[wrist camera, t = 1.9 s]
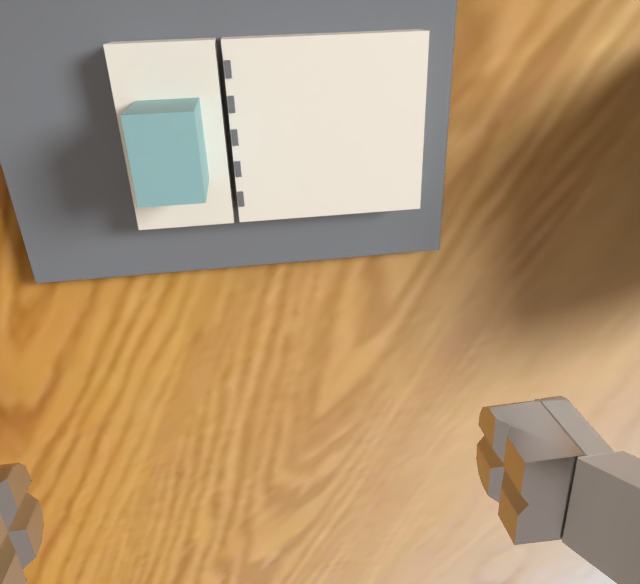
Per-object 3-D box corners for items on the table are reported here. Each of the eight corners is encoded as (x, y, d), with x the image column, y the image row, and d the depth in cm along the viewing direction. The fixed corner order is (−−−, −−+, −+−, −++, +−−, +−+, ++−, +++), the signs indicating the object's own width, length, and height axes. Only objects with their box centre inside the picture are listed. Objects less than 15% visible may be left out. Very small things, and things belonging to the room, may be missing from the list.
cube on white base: (111, 41, 27) (81, 50, 22) (215, 37, 28) (210, 45, 23) (144, 217, 31) (125, 260, 26) (234, 210, 32) (233, 252, 27)
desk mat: (-45, -36, 26) (-60, -38, 25) (450, -49, 29) (460, -52, 28) (43, 272, 34) (35, 283, 32) (431, 240, 36) (439, 249, 35)
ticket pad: (221, 37, 28) (220, 39, 26) (417, 29, 29) (430, 30, 27) (239, 210, 32) (239, 222, 30) (410, 197, 33) (420, 209, 31)
